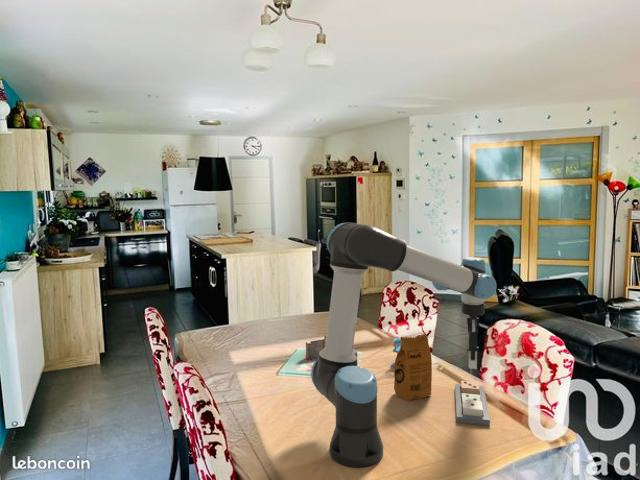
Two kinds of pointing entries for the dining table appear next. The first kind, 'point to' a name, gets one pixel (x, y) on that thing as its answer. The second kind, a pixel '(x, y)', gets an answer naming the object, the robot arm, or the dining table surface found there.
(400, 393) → the coffee package
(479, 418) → the tile tray
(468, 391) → the tile three
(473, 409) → the tile one
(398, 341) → the chair
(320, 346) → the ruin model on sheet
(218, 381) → the dining table surface
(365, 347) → the dining table surface
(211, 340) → the dining table surface
